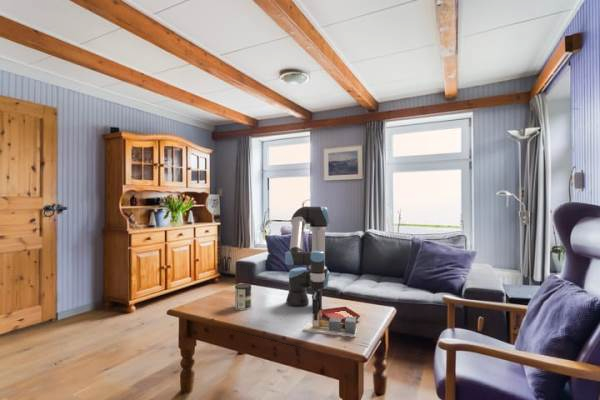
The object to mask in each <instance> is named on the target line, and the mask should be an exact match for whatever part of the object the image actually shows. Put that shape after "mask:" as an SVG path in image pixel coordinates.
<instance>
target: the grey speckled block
mask: <svg viewBox="0 0 600 400" xmlns="http://www.w3.org/2000/svg"><path fill="white" fill-rule="evenodd" d="M328 321H329V331H336V332H340V324H341V323H343V322H342V318H333V317H331V318H330V320H329V319H328Z"/></svg>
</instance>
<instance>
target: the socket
mask: <svg viewBox="0 0 600 400" xmlns="http://www.w3.org/2000/svg"><path fill="white" fill-rule="evenodd" d="M344 323H345V333H347V334H355V332H356V328H357V320H356V317H349V316H347V317H346V320H345V322H344Z"/></svg>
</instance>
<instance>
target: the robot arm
mask: <svg viewBox="0 0 600 400" xmlns="http://www.w3.org/2000/svg"><path fill="white" fill-rule="evenodd" d="M290 224H291V233H290V234H291V235H290V243H289V251H285V253H284V255H285V256H284V264H286V265H287V266H302V267H294V268H292V269H290V270H288V271H289V272H288V293H287V296H286V299H285V300H286V301H285V302H286V303H285V304H286V305H287V306H289V307H295V308H301V307H307V306H308V305H309V304H310V300H309V296H308V293H307V289H313V291H312V295H311V299H312V302H311V303H312V306H311V307H312V309H311V310H312V311H311V314H312V323H313V326H319V313H318V310H322V309H323V307H322V306H323V302H322V301H323V289H327V287H328V284H329V281H330V279H329V278H330V271H329V270H328V267H327V266H326V264H325V263H326V229H327V228H328V225H330V216H329V209H328V208H327V206H322V205H321V206H307V205H306V206H302V207H299V208H298V209H297V210H295V212H294V213H293V214H292V216H291V219H290ZM306 225H309V228H311V251H303V247H304V234H305V233H304V232H305V227H306ZM303 266H309V269H307V267H303Z"/></svg>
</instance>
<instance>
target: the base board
mask: <svg viewBox="0 0 600 400" xmlns="http://www.w3.org/2000/svg"><path fill="white" fill-rule="evenodd" d="M357 329H358V328H357V327H356V332H355V334H347V333H345V330H342V329H340V332H336V331H329V328H325V327H320V328H314V327H313V322H306V324H305V325H304V326H303V328H302V332H305V333H307V332H308V333H315V334H323V335H329V334H330V336H331V335H332V336H337V335H341V336H340V337H345V336H350V337H349V338H353V337H355V338H356V337H357V334H358V330H357ZM356 333H357V334H356Z"/></svg>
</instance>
